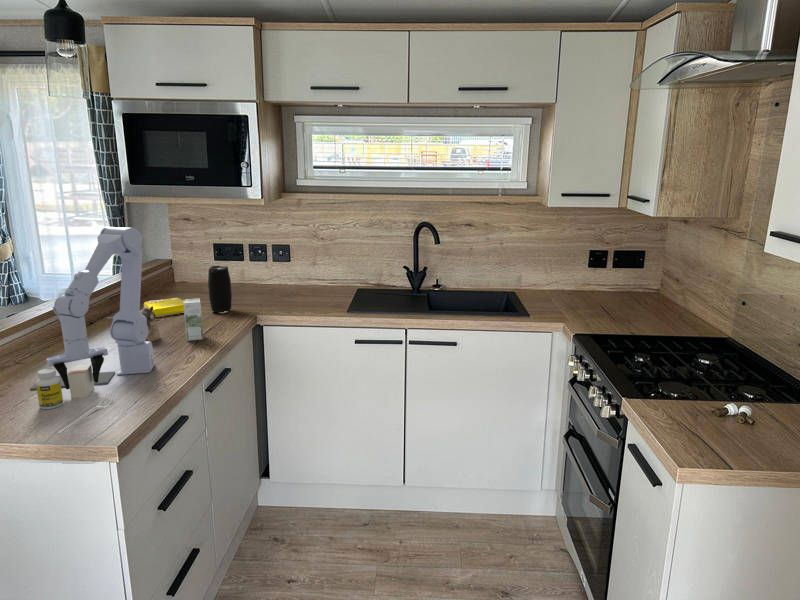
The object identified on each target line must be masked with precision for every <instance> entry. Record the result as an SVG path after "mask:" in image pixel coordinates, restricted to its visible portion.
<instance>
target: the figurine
mask: <svg viewBox="0 0 800 600" xmlns="http://www.w3.org/2000/svg"><path fill="white" fill-rule="evenodd" d="M153 308H154V307H152V306H151V307H150V309H148V308H146V307H145V308H144V307H143V308H142V309H141V310H140V312H141V313H142V314H143V315H144V316H145V317H146V318H147V326H148V336H147V338H146V340H145V341H153V342H156V341H158V340H160V338H161V336H160V335H161V334H160V328H159V326H158V324H157V322H156V321H157V320H156V316H155V313H154V312H152V310H153ZM151 315H153V318H152V317H150V316H151ZM155 340H156V341H155Z"/></svg>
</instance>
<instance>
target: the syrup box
mask: <svg viewBox="0 0 800 600" xmlns="http://www.w3.org/2000/svg"><path fill="white" fill-rule="evenodd" d="M182 300H183V301H184V314H183V315H184V324H185V325H184V327H185V336H186V341H187V342H194V341H196V342H197V341H203V340H204V331H203V330H204V329H203V318H202V306H201V299H200V298H191V299H190V298H188V299H182Z"/></svg>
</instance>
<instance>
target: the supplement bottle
mask: <svg viewBox="0 0 800 600" xmlns="http://www.w3.org/2000/svg"><path fill="white" fill-rule="evenodd" d="M57 376H58V375H57V370H56V369H55V368H51V367H48V368H42V369H40V370H38V371H37V377H38V379H37V380H36V381H35V383H36V387H37V390H36V392H37V393H36V394H37V399H38V405H39V408H40V409H43V410H52V409H56V408H58V407H61V406H62V405H63V403H64V399H63V392H62V388H61V383H60V379H59V377H57Z"/></svg>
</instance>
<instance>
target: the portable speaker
mask: <svg viewBox="0 0 800 600" xmlns="http://www.w3.org/2000/svg"><path fill="white" fill-rule="evenodd" d="M231 283H232V282H231V277H230V272H229V267H228V266H227V265H226V266H221V265H212V266H210V267H209V268H208V275H207V285H208V296H209V305H210V309H211V312H212V311H214V313H218V312H224V311H229V310H230V309H231V310H232V297H233V296H232V284H231ZM231 310H230V311H231ZM230 311H229V312H230Z"/></svg>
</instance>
